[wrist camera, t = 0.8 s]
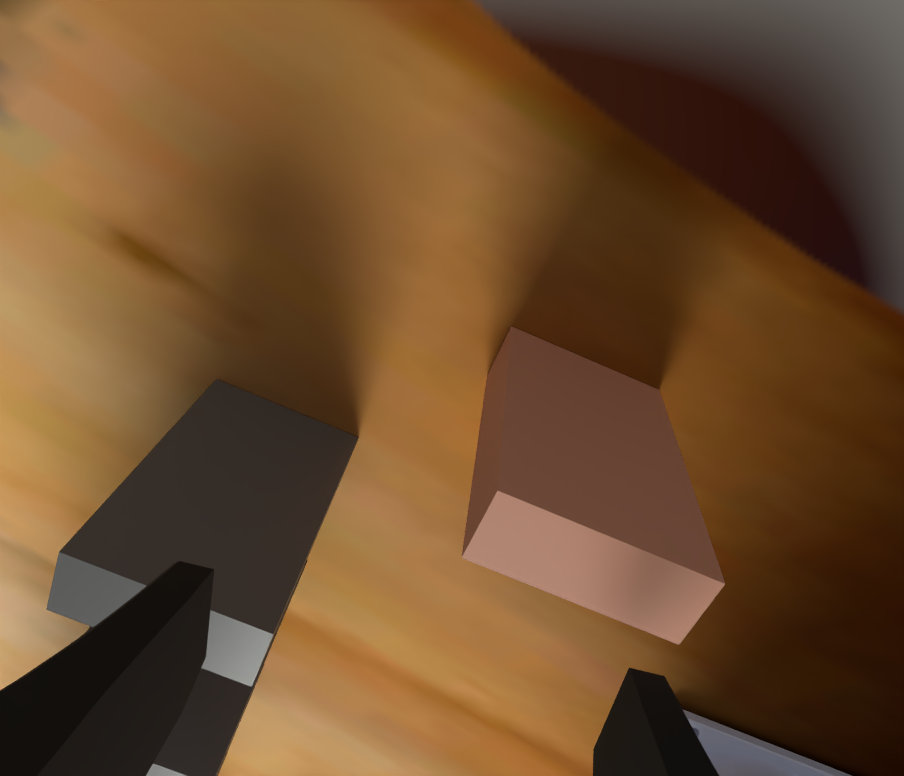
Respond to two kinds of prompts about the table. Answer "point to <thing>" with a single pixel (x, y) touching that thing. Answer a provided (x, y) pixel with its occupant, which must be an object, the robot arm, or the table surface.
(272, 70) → the table surface
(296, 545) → the domino
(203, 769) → the domino
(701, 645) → the table surface
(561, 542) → the domino
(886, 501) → the table surface
